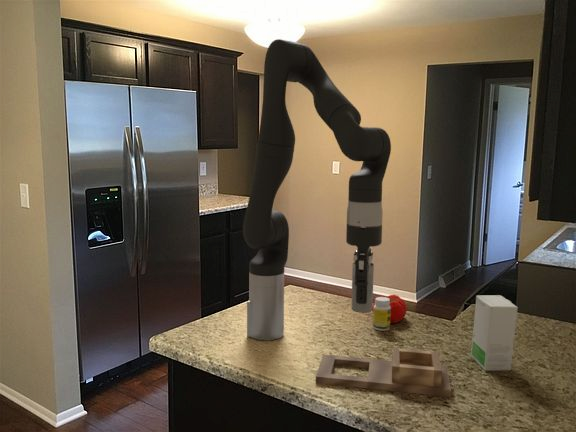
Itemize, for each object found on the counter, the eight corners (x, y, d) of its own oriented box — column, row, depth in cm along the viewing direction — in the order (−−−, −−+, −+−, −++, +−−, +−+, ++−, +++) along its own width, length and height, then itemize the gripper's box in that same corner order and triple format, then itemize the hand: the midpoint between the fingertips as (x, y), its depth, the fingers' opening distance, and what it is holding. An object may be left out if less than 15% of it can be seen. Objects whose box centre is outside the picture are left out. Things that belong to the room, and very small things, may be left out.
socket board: (315, 383, 113) (316, 361, 112) (323, 360, 125) (323, 340, 124) (451, 397, 108) (452, 373, 107) (445, 371, 119) (446, 350, 119)
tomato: (370, 324, 150) (371, 302, 149) (373, 312, 160) (374, 291, 159) (406, 327, 148) (407, 304, 147) (406, 314, 158) (407, 293, 157)
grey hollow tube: (349, 306, 117) (350, 261, 115) (369, 306, 117) (371, 261, 116) (353, 313, 112) (354, 266, 111) (374, 312, 113) (376, 266, 111)
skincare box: (470, 356, 128) (474, 294, 126) (496, 356, 128) (501, 294, 126) (485, 371, 120) (490, 305, 117) (513, 371, 120) (518, 305, 118)
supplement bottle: (389, 331, 144) (391, 302, 143) (372, 330, 145) (373, 300, 143) (390, 325, 148) (391, 297, 147) (373, 324, 149) (374, 295, 148)
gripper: (349, 216, 120) (348, 289, 122) (343, 226, 106) (341, 308, 108) (383, 218, 118) (380, 291, 121) (381, 228, 104) (378, 311, 107)
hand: (362, 299), depth 114 cm, fingers closed on grey hollow tube, 4 cm apart
